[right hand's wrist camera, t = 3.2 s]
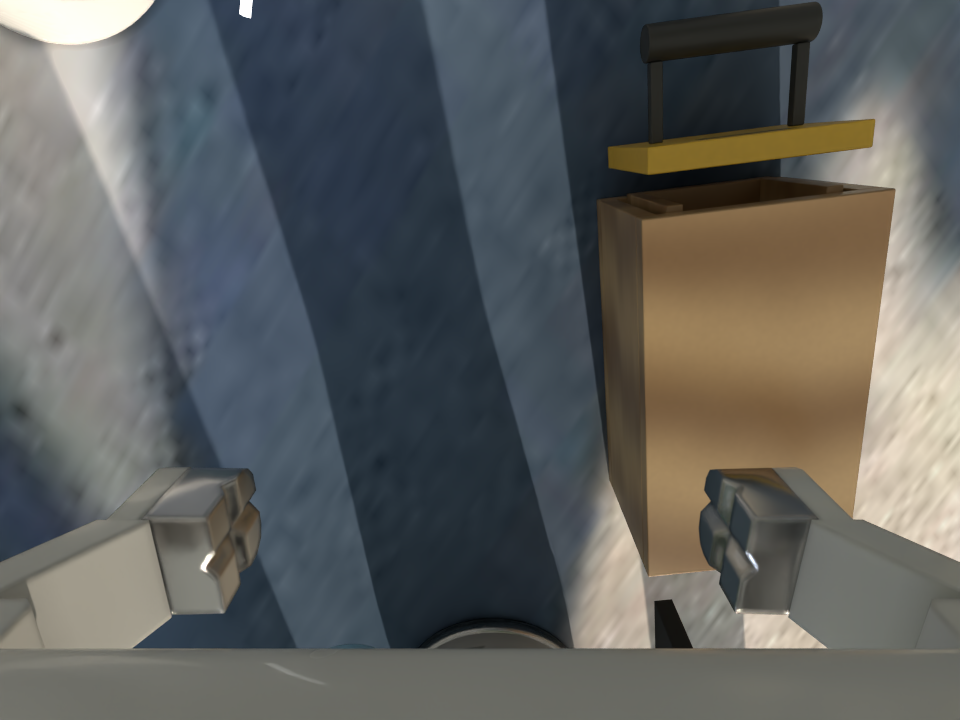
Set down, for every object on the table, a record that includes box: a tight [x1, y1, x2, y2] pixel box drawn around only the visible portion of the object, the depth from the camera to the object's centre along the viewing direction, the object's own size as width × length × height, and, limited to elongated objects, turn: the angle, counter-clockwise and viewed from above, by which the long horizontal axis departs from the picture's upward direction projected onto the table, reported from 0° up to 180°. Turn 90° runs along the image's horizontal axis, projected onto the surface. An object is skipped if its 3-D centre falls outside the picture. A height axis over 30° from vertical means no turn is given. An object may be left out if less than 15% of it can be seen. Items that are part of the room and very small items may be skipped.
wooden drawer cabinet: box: [597, 177, 895, 577], centre depth 34 cm, size 20×11×10 cm, turn 7°
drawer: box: [608, 2, 875, 214], centre depth 32 cm, size 24×10×8 cm, turn 7°
